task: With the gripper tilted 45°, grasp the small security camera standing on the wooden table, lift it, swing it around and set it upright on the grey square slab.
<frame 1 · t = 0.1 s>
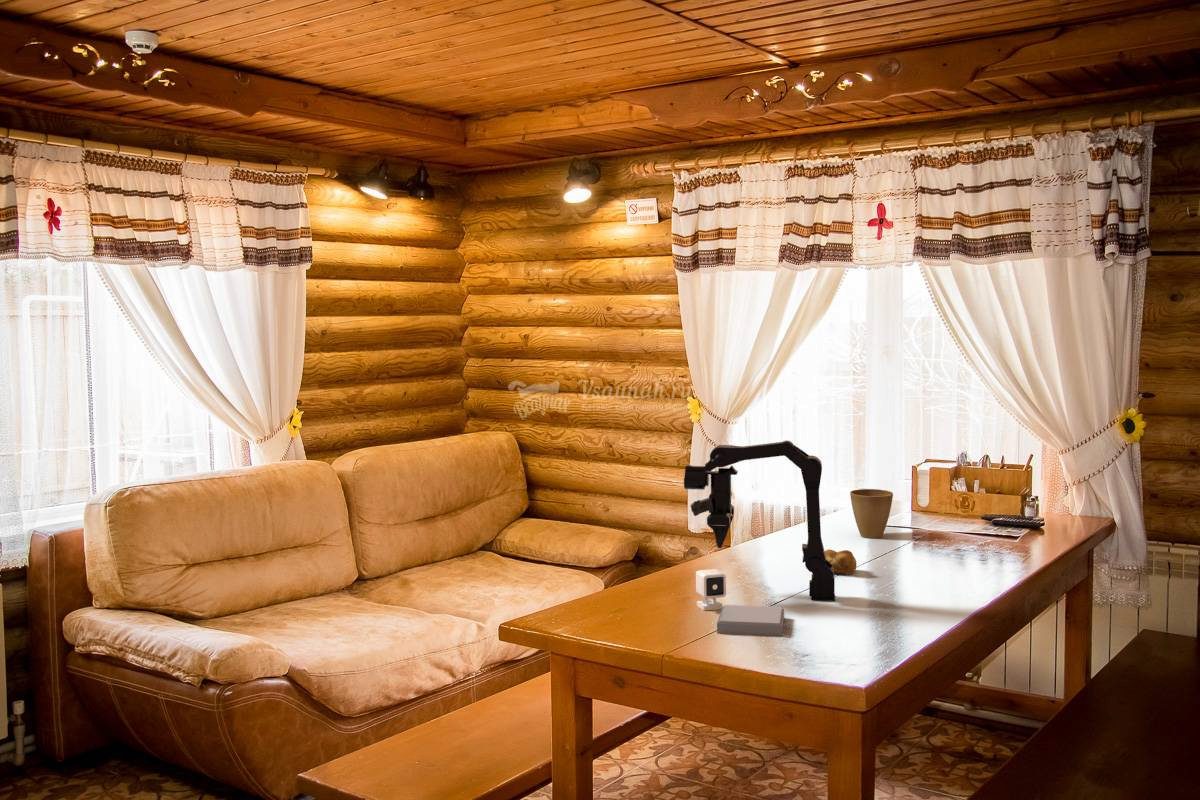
hand: (721, 544, 298), 15 cm above the table, tool pointing down, fingers open, 9 cm apart
plant pot: (871, 537, 375), on the table
bread roll: (836, 572, 324), on the table
grey square slab: (751, 625, 269), on the table
security camera: (710, 608, 286), on the table
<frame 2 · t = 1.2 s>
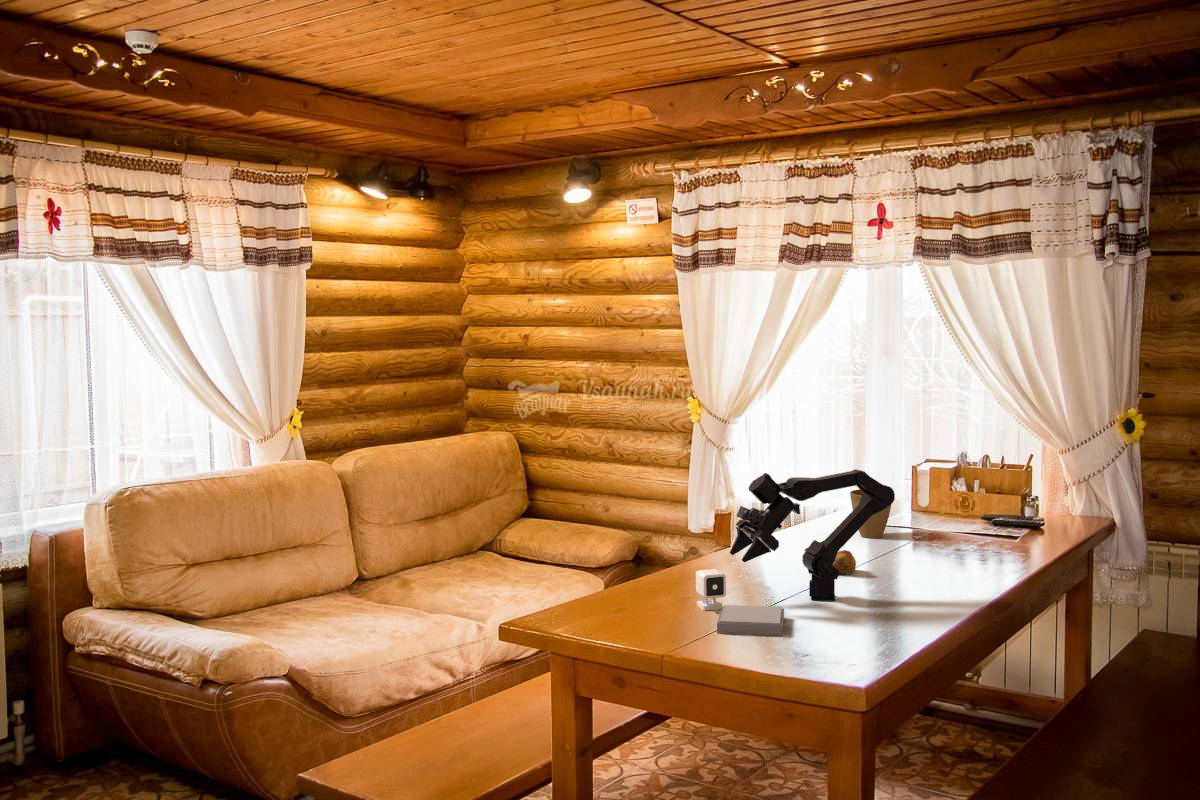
hand: (736, 557, 287), 13 cm above the table, tool tilted 45°, fingers open, 9 cm apart
nothing on the table moved.
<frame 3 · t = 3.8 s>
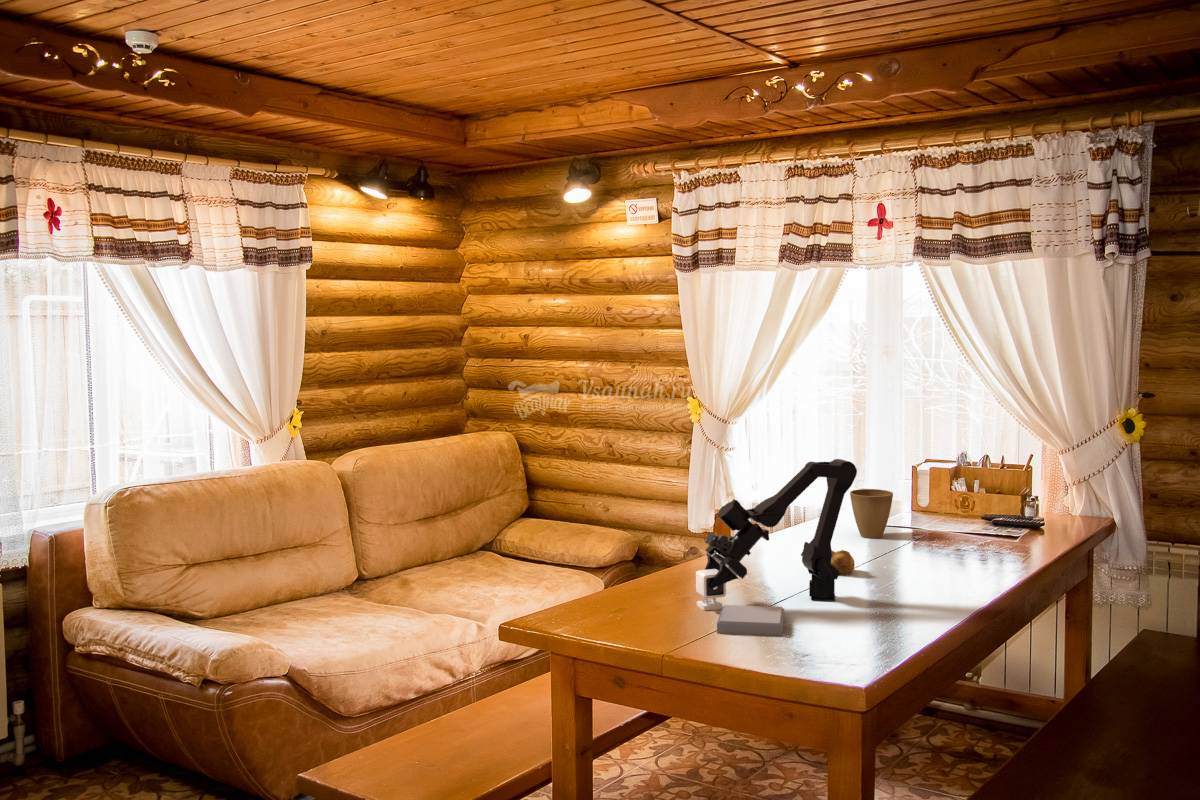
hand: (705, 584, 285), 7 cm above the table, tool tilted 45°, fingers open, 7 cm apart
security camera: (710, 608, 286), on the table, touching gripper
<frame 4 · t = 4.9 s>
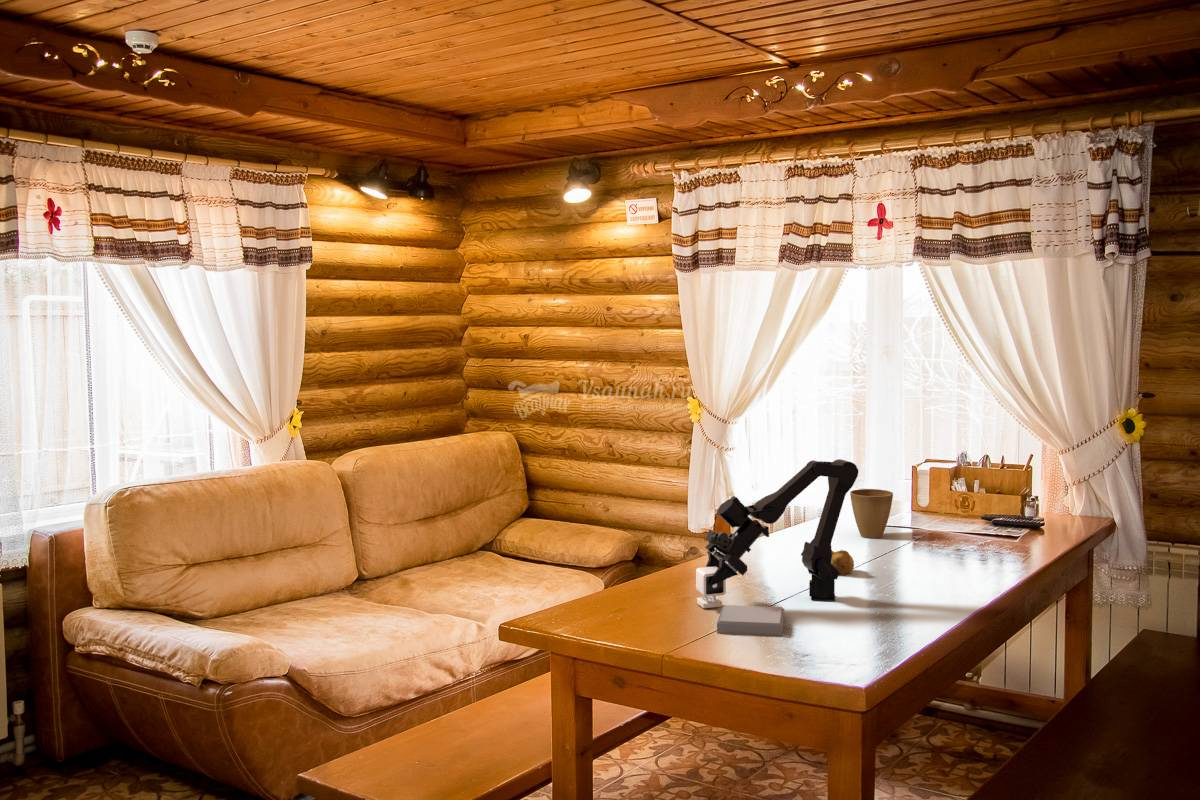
hand: (705, 581, 285), 7 cm above the table, tool tilted 45°, fingers closed on security camera, 6 cm apart
security camera: (710, 605, 287), on the table, touching gripper
everything else where it was.
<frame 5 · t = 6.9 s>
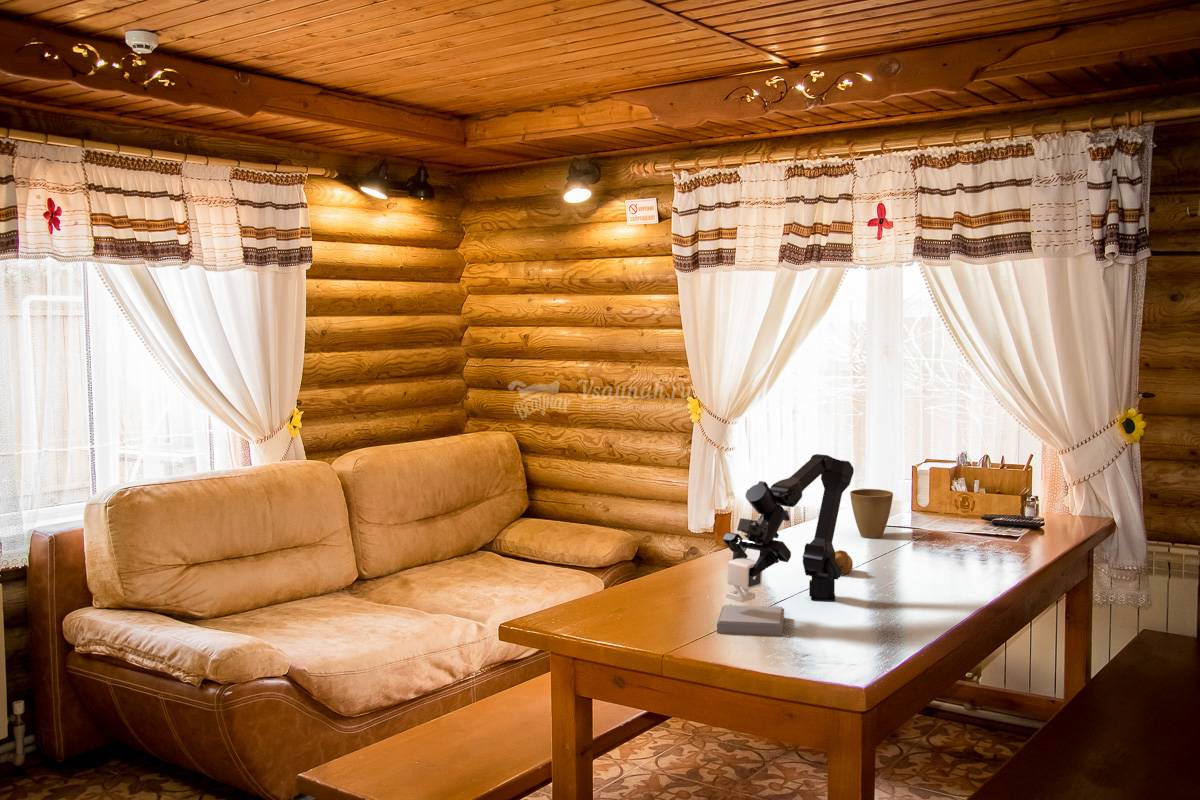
hand: (742, 573, 268), 13 cm above the table, tool tilted 45°, fingers closed on security camera, 6 cm apart
security camera: (742, 599, 271), point 6 cm above the table, touching gripper
when the fingers open (11 cm above the table, at t = 8.5 s): security camera stays where it is, resting on grey square slab.
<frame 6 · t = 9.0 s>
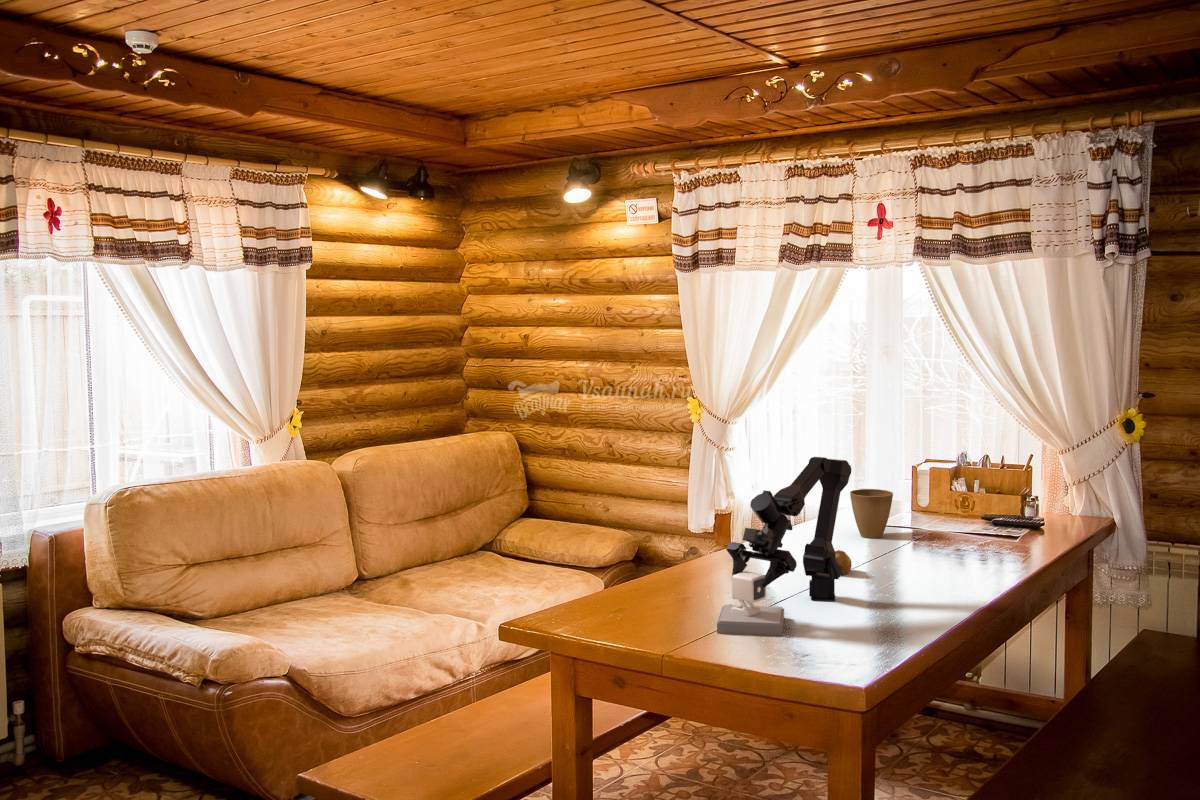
hand: (747, 583, 267), 11 cm above the table, tool tilted 45°, fingers open, 9 cm apart
security camera: (748, 613, 269), point 3 cm above the table, touching grey square slab
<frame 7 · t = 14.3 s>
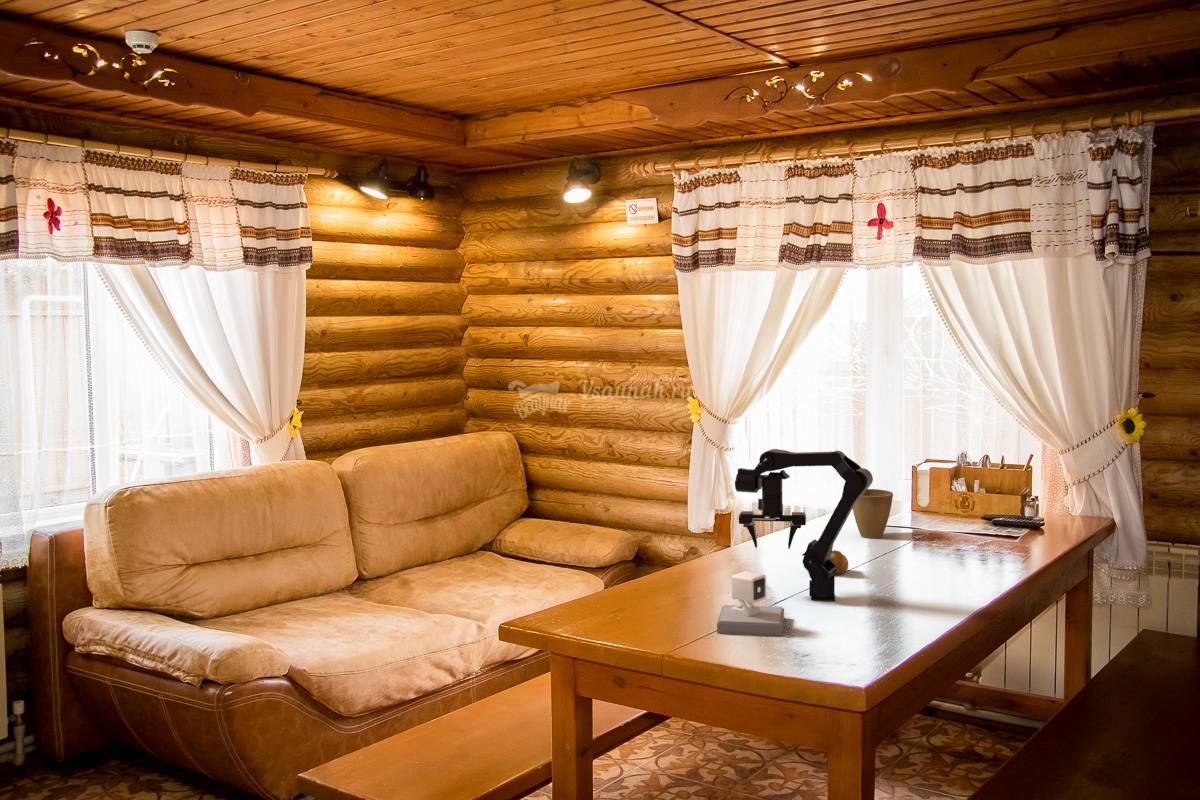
hand: (772, 548, 299), 13 cm above the table, tool pointing down, fingers open, 9 cm apart
at the end: security camera inside the target area on the grey square slab (1.0 cm from its centre), point 2.8 cm above the grey square slab's base; security camera tilted 0°; the gripper is holding nothing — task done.
